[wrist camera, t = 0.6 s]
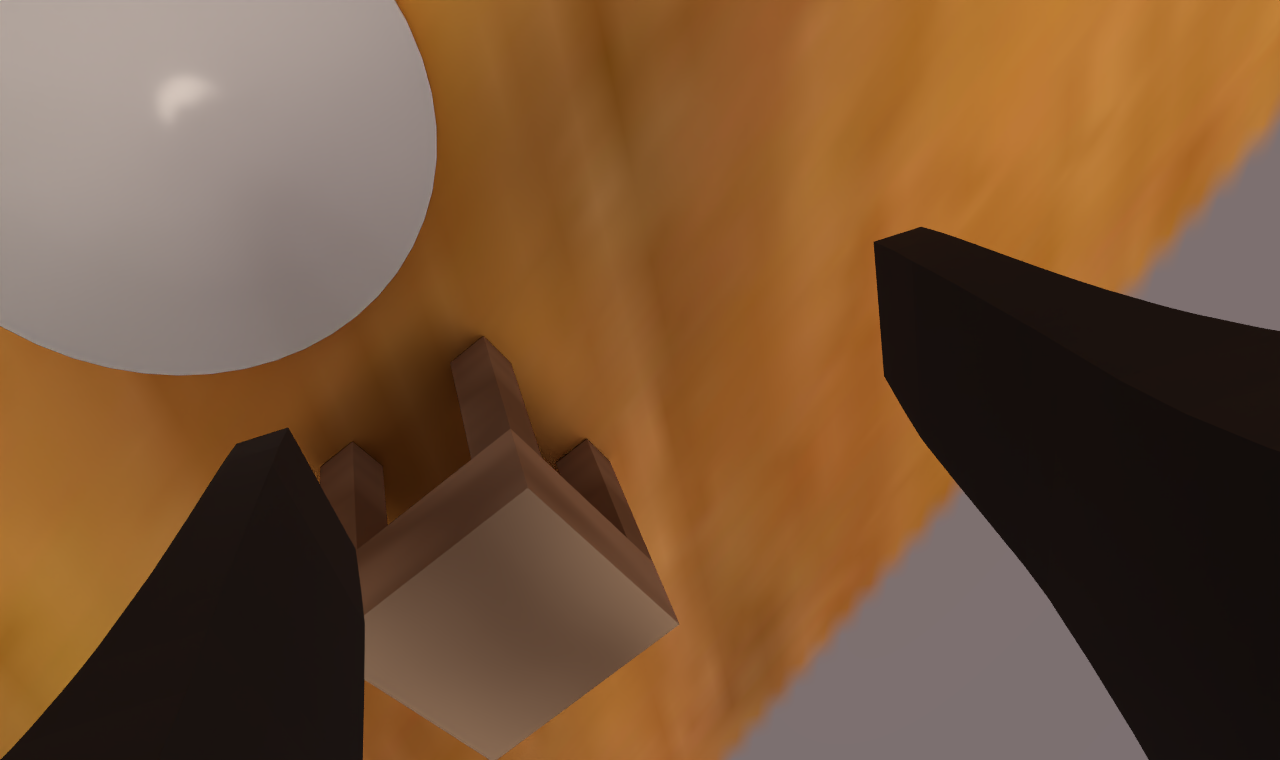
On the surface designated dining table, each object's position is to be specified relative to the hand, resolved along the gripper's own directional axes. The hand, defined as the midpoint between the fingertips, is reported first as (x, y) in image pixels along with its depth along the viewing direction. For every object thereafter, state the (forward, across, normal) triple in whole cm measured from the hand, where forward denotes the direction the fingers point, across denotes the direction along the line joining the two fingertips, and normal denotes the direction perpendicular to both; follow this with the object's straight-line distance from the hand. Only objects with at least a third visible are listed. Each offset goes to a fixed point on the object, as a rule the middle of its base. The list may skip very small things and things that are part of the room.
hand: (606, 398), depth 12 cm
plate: (+10, +6, -2) cm, 12 cm away
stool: (+10, +3, +8) cm, 13 cm away
